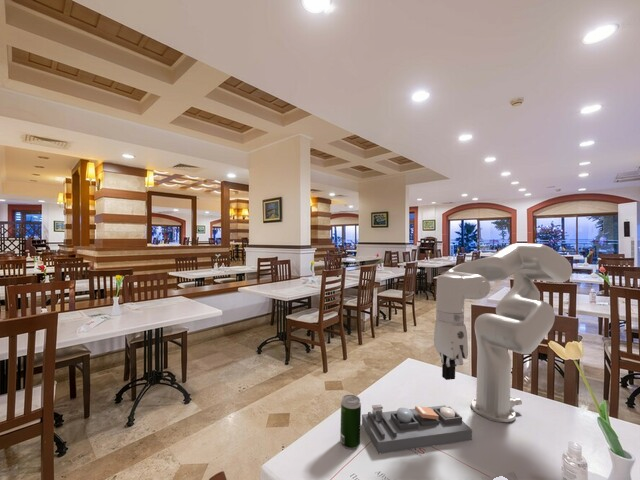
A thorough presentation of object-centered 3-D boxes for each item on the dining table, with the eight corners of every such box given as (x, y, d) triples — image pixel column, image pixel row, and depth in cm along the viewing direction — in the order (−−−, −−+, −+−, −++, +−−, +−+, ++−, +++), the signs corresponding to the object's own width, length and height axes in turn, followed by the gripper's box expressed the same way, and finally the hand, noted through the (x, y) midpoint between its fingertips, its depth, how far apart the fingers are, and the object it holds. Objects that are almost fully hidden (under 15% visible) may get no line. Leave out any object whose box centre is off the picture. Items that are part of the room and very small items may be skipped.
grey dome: (407, 413, 86) (407, 407, 86) (414, 422, 82) (414, 415, 82) (394, 415, 85) (394, 408, 85) (401, 423, 81) (401, 416, 81)
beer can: (348, 453, 75) (349, 407, 75) (336, 441, 79) (337, 397, 79) (364, 445, 78) (365, 401, 78) (351, 434, 82) (352, 392, 82)
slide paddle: (379, 415, 86) (380, 403, 86) (383, 420, 84) (383, 408, 84) (371, 416, 86) (371, 404, 86) (374, 421, 83) (374, 409, 83)
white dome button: (448, 412, 89) (449, 406, 89) (457, 421, 85) (457, 414, 85) (437, 414, 88) (437, 407, 88) (445, 422, 84) (445, 415, 84)
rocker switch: (429, 411, 87) (430, 407, 87) (438, 419, 83) (438, 415, 83) (414, 409, 86) (415, 405, 86) (422, 417, 82) (422, 413, 82)
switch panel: (444, 414, 93) (445, 400, 93) (471, 440, 81) (472, 424, 81) (361, 424, 87) (362, 409, 87) (378, 453, 75) (378, 436, 75)
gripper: (479, 323, 80) (478, 390, 80) (445, 309, 94) (443, 366, 94) (455, 324, 78) (454, 392, 78) (424, 310, 93) (423, 368, 93)
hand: (448, 378), depth 86 cm, fingers closed
